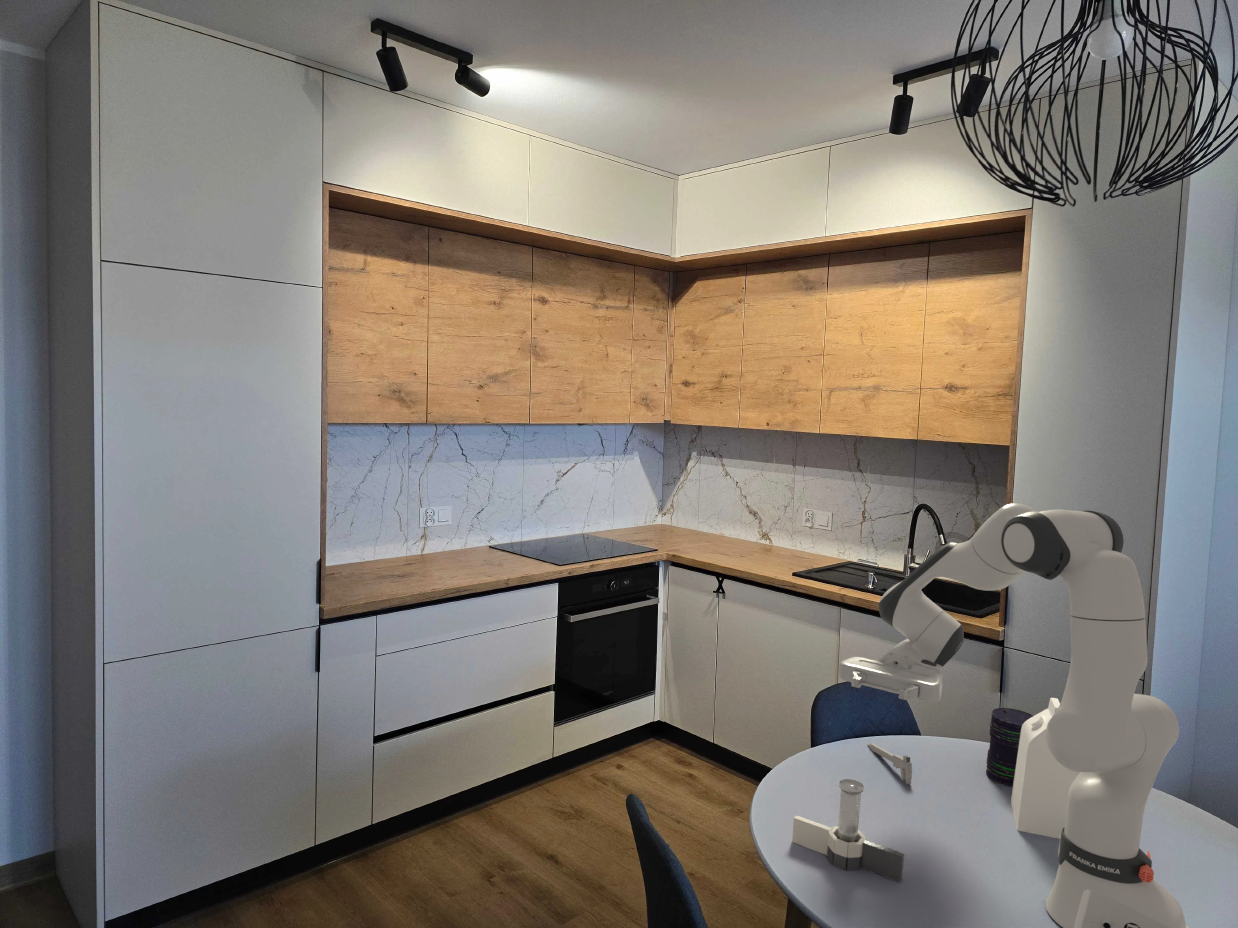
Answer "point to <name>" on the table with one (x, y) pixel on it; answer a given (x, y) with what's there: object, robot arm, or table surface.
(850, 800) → the hinge pin
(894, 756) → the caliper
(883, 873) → the hinge leaf
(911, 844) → the table surface
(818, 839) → the hinge leaf
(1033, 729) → the milk
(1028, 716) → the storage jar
